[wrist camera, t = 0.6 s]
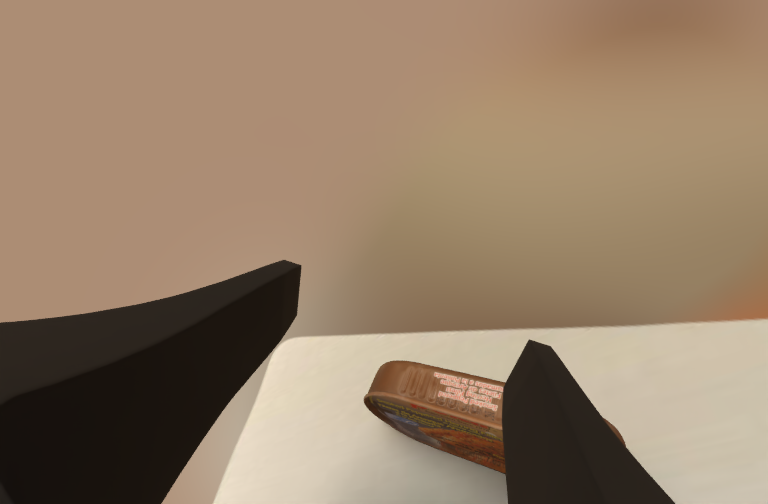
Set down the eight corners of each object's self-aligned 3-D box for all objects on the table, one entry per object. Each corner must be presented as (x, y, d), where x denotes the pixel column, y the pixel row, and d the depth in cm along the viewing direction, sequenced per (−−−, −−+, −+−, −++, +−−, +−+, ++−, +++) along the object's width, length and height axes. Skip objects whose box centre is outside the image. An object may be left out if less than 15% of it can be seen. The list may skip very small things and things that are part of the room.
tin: (387, 430, 26) (339, 391, 21) (400, 391, 28) (359, 344, 22) (620, 516, 19) (644, 491, 13) (619, 455, 20) (641, 409, 15)
